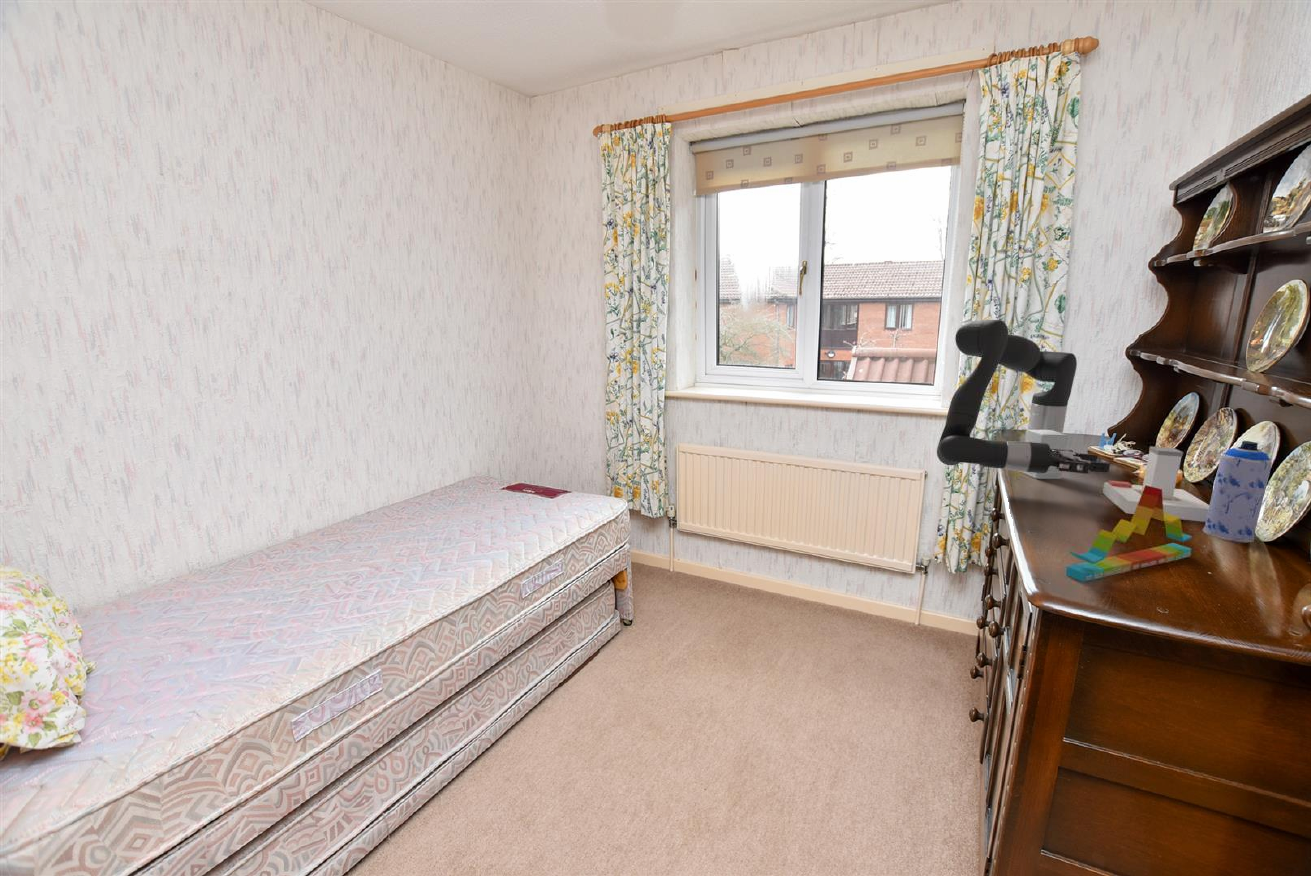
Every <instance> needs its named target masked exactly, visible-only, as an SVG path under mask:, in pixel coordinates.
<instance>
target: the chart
mask: <svg viewBox="0 0 1311 876" xmlns="http://www.w3.org/2000/svg"><path fill="white" fill-rule="evenodd" d="M1151 518H1152V519H1155V520H1159V521H1161V522H1164V526H1165V535H1166V538H1168V539H1171V540H1175V541H1178V542H1181V543H1184V542H1186V541H1188V540H1191V539H1192V538H1193V536H1192V535H1189V534H1186V533H1183V529H1182V527H1183V526H1182V521H1181V520H1182V519H1180V517H1176V516H1173V515H1169V514H1165V513H1164V512H1163V498H1162V489H1159V488H1155V487H1151V486H1146V485H1145V487H1144V490H1143V493H1142V495H1141V498H1140V500H1139V503H1138V505H1137V508H1136V510H1135V513H1134V514H1132V518H1131V520H1130V521H1129V520H1126V519H1123V518H1121V519H1120V520H1119V522H1118V523H1117V524H1116V526H1115V527H1114V528H1113V530H1112V531H1111V532H1110V531H1109V530H1104V529H1101V530H1100V531H1099V533H1098V535H1097V536H1096V538H1095V539H1094V541H1093V543H1092V544H1091V545H1092V546H1090V548H1089V550H1088V551H1087V552H1084V553H1083V554H1078V553H1075V552H1073V551H1071V550H1070V551H1069V554H1071V555H1072V556H1074V557H1075V558H1077V559H1080V560H1082V561H1085V562H1081V563H1077V564H1072V565H1068V566H1066V571H1065V576H1067V577H1070V578H1072V579H1075V580H1077V581H1079V582H1082V583H1085V582H1088V581H1092V580H1093V581H1094V580H1097V579H1102V578H1105V577H1110V576H1113V575H1114V576H1115V575H1118V574H1124V573H1127V572H1130V571H1135V570H1139V569H1140V570H1141V569H1143V568H1147V567H1151V566H1157V565H1160V564H1165V563H1169V562H1173V561H1178V560H1182V559H1186V558H1190V557H1191V555H1192V553H1191V552H1192V548H1190V547H1187V546H1184V545H1180V544H1178V543H1175V542H1171V543H1167V544H1164V545H1163V544H1162V545H1158V546H1155V547H1150V548H1145V549H1140V550H1136V551H1132V552H1128V553H1123V554H1118V555H1113V556H1108V557H1106V556H1107V554H1108V553H1109V551H1110V550H1111V548H1112V546H1113V544H1114V542H1115V540H1116V541H1118V542H1123V543H1126V542H1127V540H1128V539H1129V537H1130V536H1131V535H1132V534H1133V533H1136V534H1138V535H1142V536H1145V533H1146V531H1147V528H1148V526H1149V523H1150V521H1151Z"/></svg>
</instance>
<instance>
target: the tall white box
mask: <svg viewBox="0 0 1311 876" xmlns="http://www.w3.org/2000/svg"><path fill="white" fill-rule="evenodd" d="M1148 451H1149V452H1148V458H1147V462H1146V466H1145V467H1146V468H1145V473H1144V477H1143V483H1142V485H1141V486H1142V491H1141V495H1142V493H1143V490H1144V487H1145V485H1146V486H1151V487H1155V488H1159V489H1162V498H1163V499H1164V500H1172V499H1173V494H1174V489H1176V485H1177V479H1178V475H1179V471H1180V465H1181V461H1182V457H1183V455H1184V452H1183V451H1181V450H1179V449H1177V448H1174V447H1165V446H1164V447H1163V446H1149V450H1148Z"/></svg>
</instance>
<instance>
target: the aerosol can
mask: <svg viewBox="0 0 1311 876" xmlns="http://www.w3.org/2000/svg"><path fill="white" fill-rule="evenodd" d="M1258 444H1259V443H1258V442H1254V441H1250V440H1242V442H1241V445H1240V446H1236V447H1234V448H1230V449H1228V450H1226V452H1225V451H1224V452H1222V453H1221V456H1220V457H1219V463H1218V466H1217V467H1218V468H1217V472H1216V475H1215V476H1216V477H1215V479H1214V484H1213V488H1212V492H1211V497H1210V501H1209V505H1210V506H1209V510H1208V514H1207V519H1206V522H1204V523H1205V524H1204V527H1203V528H1202V532H1203V533H1205V534H1206V535H1209V536H1211V537H1213V538H1218V539H1222V540H1226V541H1230V542H1235V543H1236V542H1237V543H1253V542H1255V537H1254V536H1255V533H1256V529H1257V524H1258V522H1259V518H1260V513H1261V511H1262V510H1261V509H1262V505H1263V502H1264V497H1265V493H1266V489H1267V486H1268V480H1269V477H1270V473H1271V470H1272V464H1273V463H1272V461H1273V460H1272V459H1271V458H1270V457H1269V455H1268V454H1267V453H1266V452H1264V451H1262V450H1261V449H1259V448H1258Z"/></svg>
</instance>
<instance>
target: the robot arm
mask: <svg viewBox="0 0 1311 876" xmlns="http://www.w3.org/2000/svg"><path fill="white" fill-rule="evenodd" d="M955 344H956V347H957V349H958V350H959V351H960V352H961V353H962V354H964V355H965V356H969V357H970V356H972V357H976V358H977V357H978V358H980V361H979V362H978V364H977V366H976V367H975V368H974V369H973V372H972V373H971V374H970V375H969V376H968V377H967V378H966V379H965V380H964V381H963V382H962V383H961V384H960V386H959V387H957V389H956V390H955V392H954V394H953V396H952V398H951V401H950V404H949V408H948V411H947V415H946V420H945V425H944V427H943V430H942V433H941V435H940V439H939V442H938V444H937V447H936V456H937V459H938V460H939V461H940V462H941V463H942V464H944V465H945V466H946V465H947V466H956V465H959V464H961V463H963V464H973V465H974V464H977V465H979V466H981V467H984V468H992V469H993V468H994V469H1001V470H1002V469H1004V470H1009V471H1014V472H1020V471H1022V472H1033V473H1046V472H1047V471H1048V468H1049V467H1050V466H1054V467H1056V469H1058V470H1059V471H1062V472H1068V473H1077V474H1085V475H1086V474H1089V473H1090V472H1095V473H1097V472H1098V473H1108V472H1110V463H1108V462H1102V461H1098V455H1097V454H1091V453H1081V452H1080V453H1079V452H1078V451H1074V450H1072V449H1066V450H1060V449H1050V446H1049V445H1048V444H1046V443H1033V442H1025V441H1019V440H1017V441H1016V440H1015V441H1010V440H1009V441H1005V440H1004V441H1003V440H994V439H989V440H988V439H980V438H977V437H971V434H972V431H973V430H974V428H975V426H976V423H977V420H978V417H979V414H980V411H981V406H982V402H983V399H984V397H985V394H986V391H987V389H988V386H989V385H990V383H991V381H992V379H993V376H994V374H995V372H996V370H997V367H998V365H1000V366H1003V367H1005V368H1007V369H1010V370H1013V371H1017V372H1020V373H1024V374H1026V375H1027V376H1029V377H1031V378H1032V379H1034V380H1036V381H1039V382H1045V383H1053V386H1052V388H1050V389H1048V390H1047V391H1040V392H1038V393H1037V392H1036V393H1034V394H1033V395H1032V400H1031V405H1030V410H1029V411H1030V412H1029V417H1028V418H1029V419H1028V425H1027V430H1053V431H1056V432H1059V433H1063V434H1064V430H1065V429H1064V428H1065V422H1066V417H1067V416H1066V415H1067V409H1068V405H1069V404H1068V403H1069V399H1070V397H1071V394H1072V390H1073V384H1074V380H1075V375H1076V371H1077V367H1078V366H1077V363H1078V362H1077V361H1078V360H1077V357H1076V355H1075V354H1073V352H1071V353H1070V352H1061V351H1044V350H1043V351H1042V350H1041V349H1040V347H1039V346H1038V344H1037V343H1036V342H1034V341H1033V340H1031V339H1029V338H1026V337H1023V336H1020V335H1017V334H1009V328H1008V325H1007V324H1006V322H1004V321H1003V320H1001V319H984V320H970V321H968V322H965V323H963V324H961V326H960V327H959V328H958V329H957V330H956V334H955ZM1080 465H1081V466H1082V467H1080ZM1022 472H1021V473H1022Z"/></svg>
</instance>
